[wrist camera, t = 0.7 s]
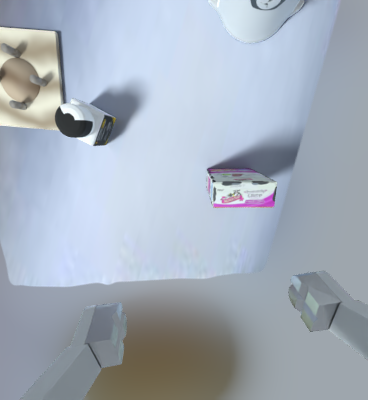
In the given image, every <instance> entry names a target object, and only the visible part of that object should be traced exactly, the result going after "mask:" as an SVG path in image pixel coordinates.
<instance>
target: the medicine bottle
mask: <svg viewBox="0 0 368 400" xmlns="http://www.w3.org/2000/svg"><path fill="white" fill-rule="evenodd" d="M115 120H116V118H115V117H113V116H112V115H110V114H108V113H106V112H104V111H102V110H100V109H98V108H96V107H95V106H93V105H91V104H88V103H86V102H83V101H80V100H77V99H74V98H72V99H71V102H70V103H65V104H62V105H61V106H59V107H58V109H57V110H56V113H55V123H56V125H57V127H58V129H59V130H60V132H61V133H63V134H64V135H66V136H68V137H75V138H78V139H80V140H82V141H84V142H86V143H88V144H89V145H91V146H100V145H106V144H107V141H108V139H109V136H110V133H111V131H112V128H113V126H114V123H115Z"/></svg>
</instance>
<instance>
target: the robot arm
mask: <svg viewBox="0 0 368 400" xmlns="http://www.w3.org/2000/svg"><path fill="white" fill-rule="evenodd" d="M208 3H209V4H210V6H211V7H212V8H213V9H214V10H215V11H216V12H217V13H218V14H219V16H220V18H221V21H222V23H223V25H224V27H225V29H226V30H227V31H228V33H229V34H230V35H231V36H233V37H234V38H235V39H237V40H239V41H241V42H245V43H257V42H261V41H264V40H266V39H268V38H269V37H271V36H272V35H273V34H275V33H276V32H277V31H278V30H279V29H280V27H281V26H282V25H283V23H284V22H285V21H286V20H287V19H288V18H289V17H291V16H292V15H294V14H295V13H297V12H298V11H299V10H300V9H301V7H302V6H303V4H304V0H208ZM291 282H292V285H291V286H290V287H289V292H288V293H289V298H290V301H291V303H292V305H293V306H294V308H295V309H297V310H298V311H300V312H301V319H302V320H303V322H304V323H305V325H306V326H307V328H308V329H309V331H310V332H313V331H320V330H327V329H329V331H330V332H331V333H333V334H334V335H335V336H337V337H338V338H339V339H340V340H342V341H343V342H345V343H346V344H347V345H348V346H350V347H351V348H352V349H354V350H355V351H356V352H357V353H359V354H360V355H361V356H363V357H364V358H365V359H367V360H368V305H367V304H365V303H363V302H361V301H359V300H354V299H353V298H352V297H351V296H350V295H349V294H348V293H347V292H346V291H345V290H344V289H343V288H342V287H341V286H340V285H339V284H338V283H337V282H336V281H335V280H334V279H333V278H332V277H331V276H330V275H329V274H328V273H327V272H326V271H319V272H310V273H304V274H299V275H293V276H292V277H291ZM122 308H123V307H122V304H121V302H119V303H111V304H103V305H95V306H89V307H86V308H85V309H84V311H83V313H82V316H81V318H80V321H79V324H78V327H77V329H76V332H75V335H74V337H73V340H72V343H71V346H70V347H67V348H66V349H65V350H64V351H63V352H62V353H61V354H60V355H59V356H58V357H57V359H56V360H55V361H54V362H53V363H52V364H51V365H50V366H49V367H48V369H47V370H46V371H45V372H44V373H43V374H42V375H41V376H40V378H39V379H38V380H37V381H36V382H35V383H34V384H33V385H32V386H31V387H30V388H29V390H28V391H27V392H26V393H25V394H24V395H23V396H22V397H21V398H20V400H83V399H84V397H85V395H86V394H87V392H88V390H89V389H90V387H91V385H92V384H93V382H94V381H95V379H96V377H97V376H98V374H99V373H100V371H101V368H104V367H109V366H114V365H119V364H122V358H123V351H124V345H123V342H122V340H123V339H124V337H125V336H126V330H127V320H126V315H125V313H124V312H122Z"/></svg>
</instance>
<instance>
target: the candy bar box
mask: <svg viewBox="0 0 368 400" xmlns="http://www.w3.org/2000/svg"><path fill="white" fill-rule="evenodd" d="M206 187H207V190H208V193H209V196H210V200H211V203H212V206H213V208H223V207H274V203H275V195H276V188H277V182H276V181H274V180H271V179H270V178H268V177H266V176H264V175H262V174H260V173H258V172H256V171H254V170H252V169H207V181H206Z"/></svg>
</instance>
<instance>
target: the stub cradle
mask: <svg viewBox="0 0 368 400" xmlns="http://www.w3.org/2000/svg"><path fill="white" fill-rule="evenodd" d="M62 104H64V101H63V89H62V77H61V64H60V52H59V39H58V33H56V32H55V31H43V30H30V29H17V28H4V27H0V125H2V126H13V127H25V128H37V129H48V130H59V129H58V127H57V125H56V123H55V113H56V110H57V109H58V107H59V106H61V105H62Z"/></svg>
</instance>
